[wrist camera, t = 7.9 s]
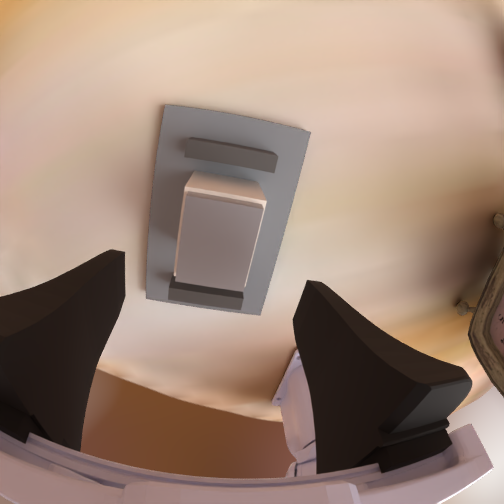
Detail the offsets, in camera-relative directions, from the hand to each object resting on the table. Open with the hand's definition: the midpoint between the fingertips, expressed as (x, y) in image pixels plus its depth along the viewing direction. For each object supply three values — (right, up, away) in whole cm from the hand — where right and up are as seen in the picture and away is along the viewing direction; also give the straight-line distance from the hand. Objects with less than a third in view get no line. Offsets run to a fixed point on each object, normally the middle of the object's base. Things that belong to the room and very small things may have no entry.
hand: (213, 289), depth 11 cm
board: (-1, +4, +9) cm, 9 cm away
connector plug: (-1, +4, +7) cm, 8 cm away
